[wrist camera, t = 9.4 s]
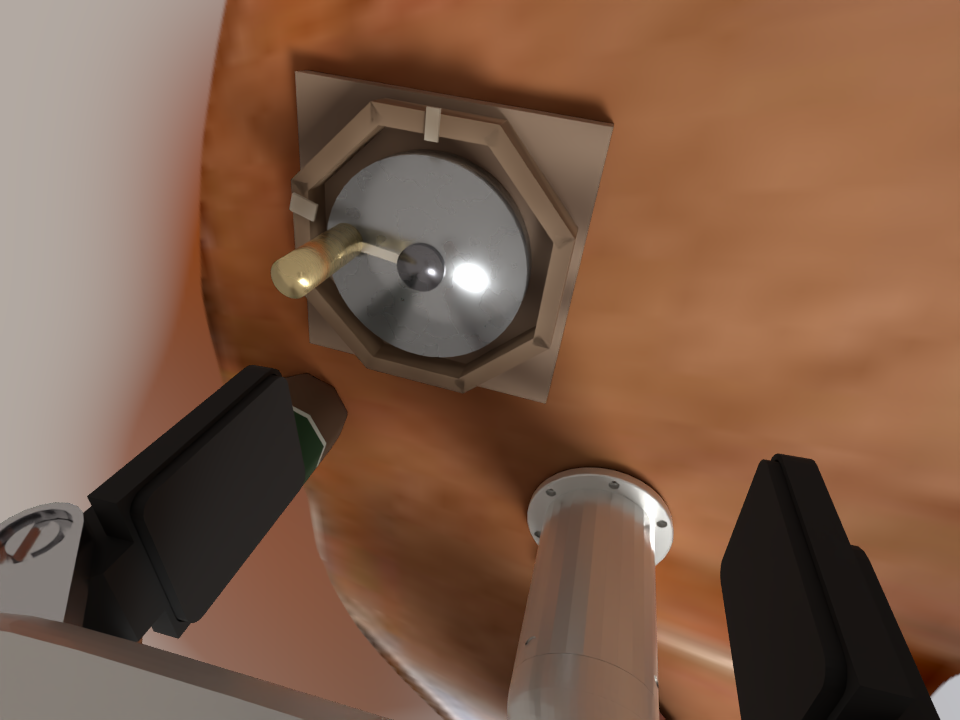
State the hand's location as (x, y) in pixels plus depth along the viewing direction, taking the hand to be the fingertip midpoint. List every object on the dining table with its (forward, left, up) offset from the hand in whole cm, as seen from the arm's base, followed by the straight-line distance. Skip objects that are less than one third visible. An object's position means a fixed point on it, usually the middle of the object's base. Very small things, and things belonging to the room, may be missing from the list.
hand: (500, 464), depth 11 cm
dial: (-7, +10, -26) cm, 28 cm away
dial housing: (-7, +10, -27) cm, 30 cm away
